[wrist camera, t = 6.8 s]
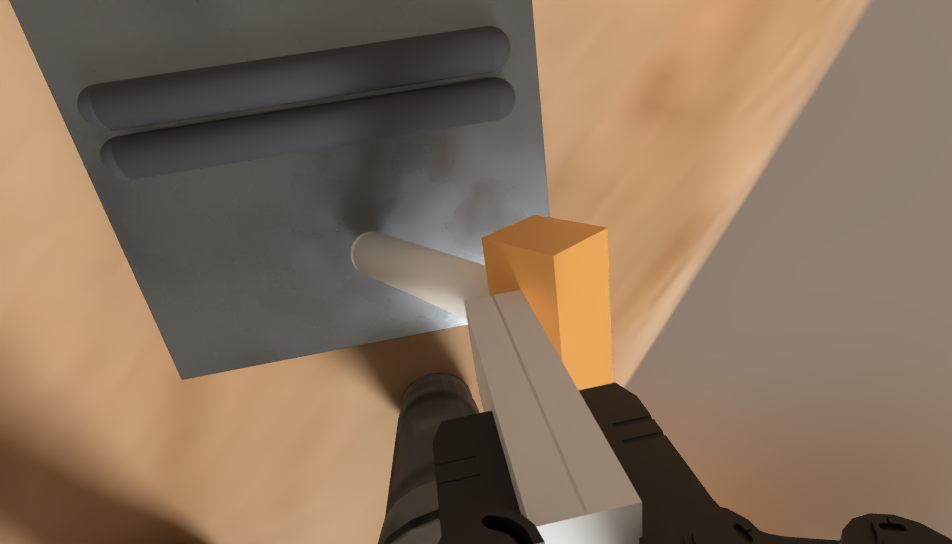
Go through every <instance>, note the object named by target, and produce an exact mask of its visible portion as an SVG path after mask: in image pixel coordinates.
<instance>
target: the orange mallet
mask: <svg viewBox="0 0 952 544" xmlns="http://www.w3.org/2000/svg"><path fill="white" fill-rule="evenodd" d="M481 240H482V247H483V254H484V261H485V265H483V264H480V263H477V262H473V261H470V260H467V259H464V258H460V257H457V256H454V255H451V254H447V253H444V252H441V251H438V250H434V249H431V248H428V247H425V246H421V245H418V244H415V243H412V242H408V241H405V240H402V239H399V238H396V237H392V236H389V235H386V234H383V233H379V232H366V233H363V234H361V235H360V236H359V237H357V238H356V240H355V241H354V242H353V244H352V247H351V252H350V256H351V260H352V263H353V264H354V266H355V267H356V268H357V270H359V271H360V272H362V273H363V274H366V275H368V276H370V277H372V278H375V279H377V280H379V281H381V282H384V283H386V284H388V285H390V286H392V287H395V288H397V289H399V290H401V291H404V292H406V293H408V294H410V295H413V296H415V297H417V298H419V299H422V300H424V301H426V302H428V303H431V304H433V305H435V306H437V307H440V308H442V309H444V310H446V311H449V312H451V313H453V314H455V315H457V316H460V317H462V318H464V319H466V320H467V317H466V311H465V305H464V301H465V300H470V299H475V298H481V297H486V296H491V295H496V294H501V293H507V292H512V291H517V290H522V292H523V294H524V295H525V297H526V299H527V301H528V302H529V304H530V306H531V308H532V309H533V311H534V313H535V315H536V316H537V318H538V320H539V322H540V324H541V325H542V327H543V329H544V331H545V332H546V334H547V336H548V338H549V339H550V341H551V343H552V345H553V346H554V348H555V350H556V352H557V353H558V355H559V357H560V359H561V360H562V362H563V364H564V366H565V367H566V369H567V371H568V373H569V374H570V376H571V378H572V380H573V381H574V383H575V385H576V387H577V389H578V390H583V389H587V388H592V387H597V386H601V385H606V384H611V383H613V373H612V344H611V316H610V288H609V260H608V231H607V228H605V227H600V226H594V225H588V224H583V223H577V222H572V221H566V220H560V219H555V218H549V217H544V216H538V215H533V216H530V217H528V218H526V219H524V220H521V221H519V222H517V223H514V224H512V225H510V226H507V227H505V228H503V229H500V230H498V231H496V232H494V233H491V234H489V235H487V236H484V237H482V238H481Z"/></svg>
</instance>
